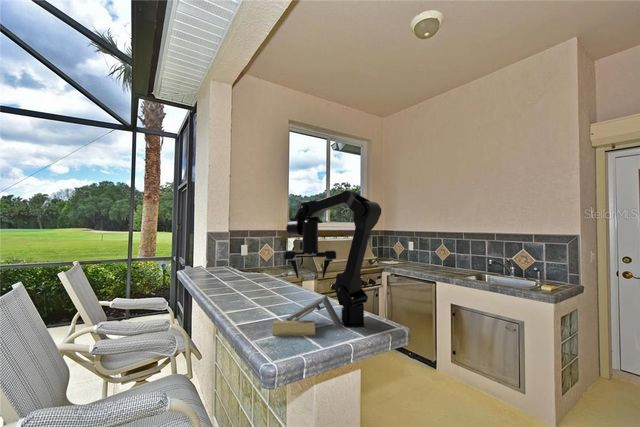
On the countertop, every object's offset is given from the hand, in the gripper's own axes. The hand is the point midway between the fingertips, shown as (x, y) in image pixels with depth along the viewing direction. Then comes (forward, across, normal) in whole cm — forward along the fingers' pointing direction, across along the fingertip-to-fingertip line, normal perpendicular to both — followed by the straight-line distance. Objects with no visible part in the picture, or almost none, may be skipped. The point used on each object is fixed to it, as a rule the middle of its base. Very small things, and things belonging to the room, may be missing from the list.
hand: (310, 278), depth 103 cm
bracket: (+13, -1, +15) cm, 20 cm away
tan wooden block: (+12, +4, +21) cm, 25 cm away
